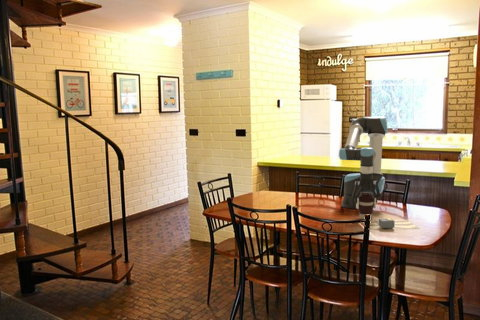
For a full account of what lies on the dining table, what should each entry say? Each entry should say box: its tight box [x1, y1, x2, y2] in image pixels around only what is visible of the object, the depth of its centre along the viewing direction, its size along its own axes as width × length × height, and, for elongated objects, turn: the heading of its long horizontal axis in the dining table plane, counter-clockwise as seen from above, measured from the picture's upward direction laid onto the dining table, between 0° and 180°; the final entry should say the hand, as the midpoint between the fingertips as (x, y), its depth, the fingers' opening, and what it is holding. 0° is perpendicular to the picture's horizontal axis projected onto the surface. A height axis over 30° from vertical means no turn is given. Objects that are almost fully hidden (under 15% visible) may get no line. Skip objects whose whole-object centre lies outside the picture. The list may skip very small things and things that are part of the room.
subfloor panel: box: [360, 219, 420, 231], centre depth 234 cm, size 18×28×2 cm, turn 91°
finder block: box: [378, 217, 395, 230], centre depth 227 cm, size 5×7×5 cm
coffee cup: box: [358, 194, 375, 220], centre depth 248 cm, size 10×10×15 cm
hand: (365, 208), depth 248 cm, fingers closed on coffee cup, 10 cm apart
